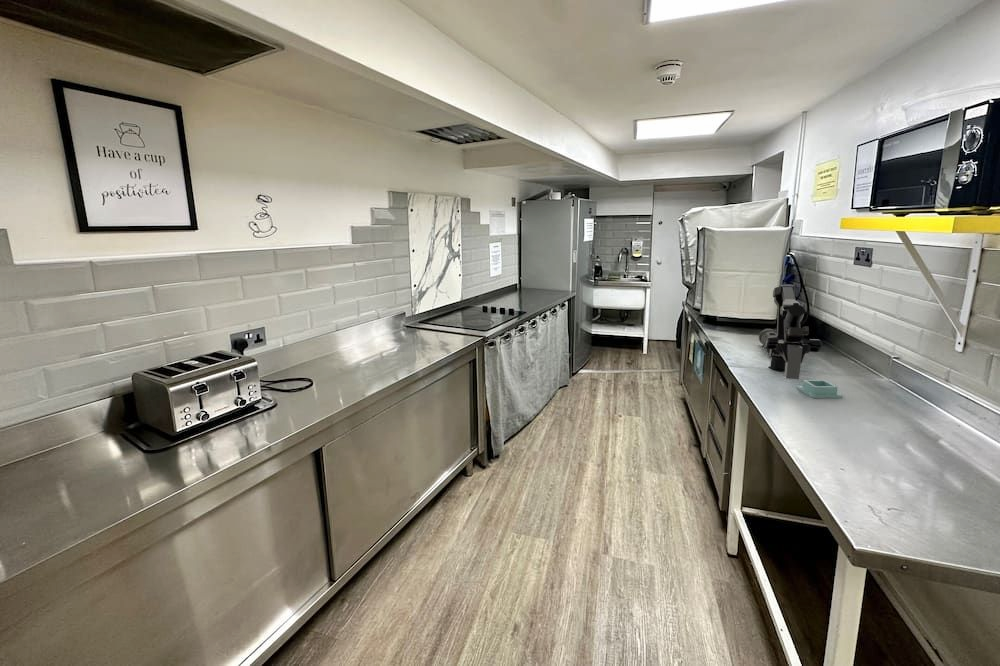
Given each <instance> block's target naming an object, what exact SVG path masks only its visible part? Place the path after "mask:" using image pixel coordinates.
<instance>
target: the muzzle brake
mask: <svg viewBox="0 0 1000 666" xmlns="http://www.w3.org/2000/svg"><path fill="white" fill-rule="evenodd" d="M768 337H777V330H775V329H773V328H764V329H763V330H761V331H760V332H759V333H758V340H759V342H760V344H761V345H762V346H763V347H764V349H765V351H766V352H767V353H768V354H769V353H770V349H766V341H767V338H768Z"/></svg>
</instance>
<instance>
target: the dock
mask: <svg viewBox="0 0 1000 666" xmlns="http://www.w3.org/2000/svg"><path fill="white" fill-rule="evenodd" d="M796 389H797V390H799V391H801V392H802V393H804V394H805V395H807V396H808V397H810V398H812V399H825V398H826V399H831V398H832V399H833V398H834V399H835V398H836V399H840V398H843V395H842V394H841V393H839V392H838V389H839V387H838V386H837V385H835V384H833V383H831V382H830V381H827V380H825V379H803V380H802V385H797V386H796Z"/></svg>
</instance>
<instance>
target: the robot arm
mask: <svg viewBox="0 0 1000 666" xmlns="http://www.w3.org/2000/svg"><path fill="white" fill-rule="evenodd" d="M772 297H773V302H774V304H775V305H776V306H777V318H776V320H777V322H776V324H777V325H776V332H777V337H768V338H767V341H766V349H770V353H768V355H769V357H771V359H770V365H769V366H768V367H767V368H768V369H771V370H774V371H777V372H785V365H786V362H788V357H787V346H788V345H801V347H802V348H803V349H802V357H801V364H802V362H803V360H804V357H805V355H806V354H809V353H810V352H811V353H818V352H820V351H821V348H822V347H823V342H822V341H821V340H820V339H815V338H813V339H811V338H809V340H808V341H807V342H806V341H803V340H804V336H808V335H810V328H809V326H803V327H801V322H802V321H803V318H804V316H805V314H806V309H805V307H804V306H802V305H801V303H800V302H799V301H798V300H796V287H795V286H794V285H792V284H780V285H779V286H777V287H774V289H773V291H772ZM766 349H765V350H766Z"/></svg>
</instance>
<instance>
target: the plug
mask: <svg viewBox="0 0 1000 666" xmlns="http://www.w3.org/2000/svg"><path fill="white" fill-rule="evenodd" d="M802 349H803V348H802V347H801V345H788V346H787V357H788V362H786V365H785V371H784V374H783V375H784V378H785V379H789V380H800V374H801V373H800V371H801V365H802V363H801V357H802Z"/></svg>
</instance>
